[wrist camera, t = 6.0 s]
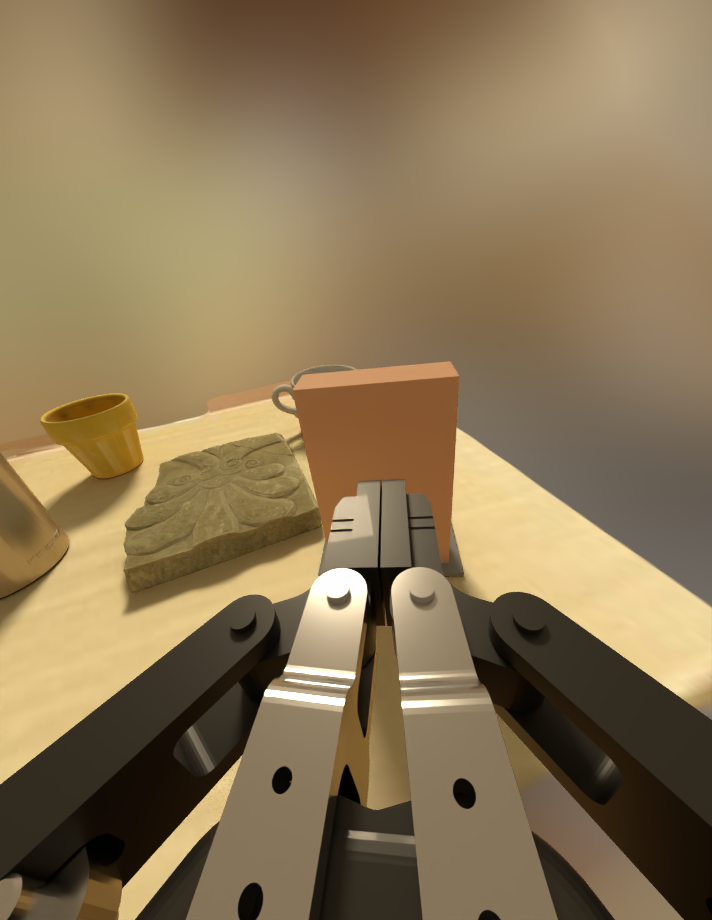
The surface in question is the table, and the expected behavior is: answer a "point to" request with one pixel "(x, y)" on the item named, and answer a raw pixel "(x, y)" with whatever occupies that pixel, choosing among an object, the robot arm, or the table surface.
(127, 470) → the plant pot
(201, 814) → the table surface
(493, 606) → the robot arm
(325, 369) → the teacup
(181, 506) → the decorative tile
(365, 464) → the terracotta tile
